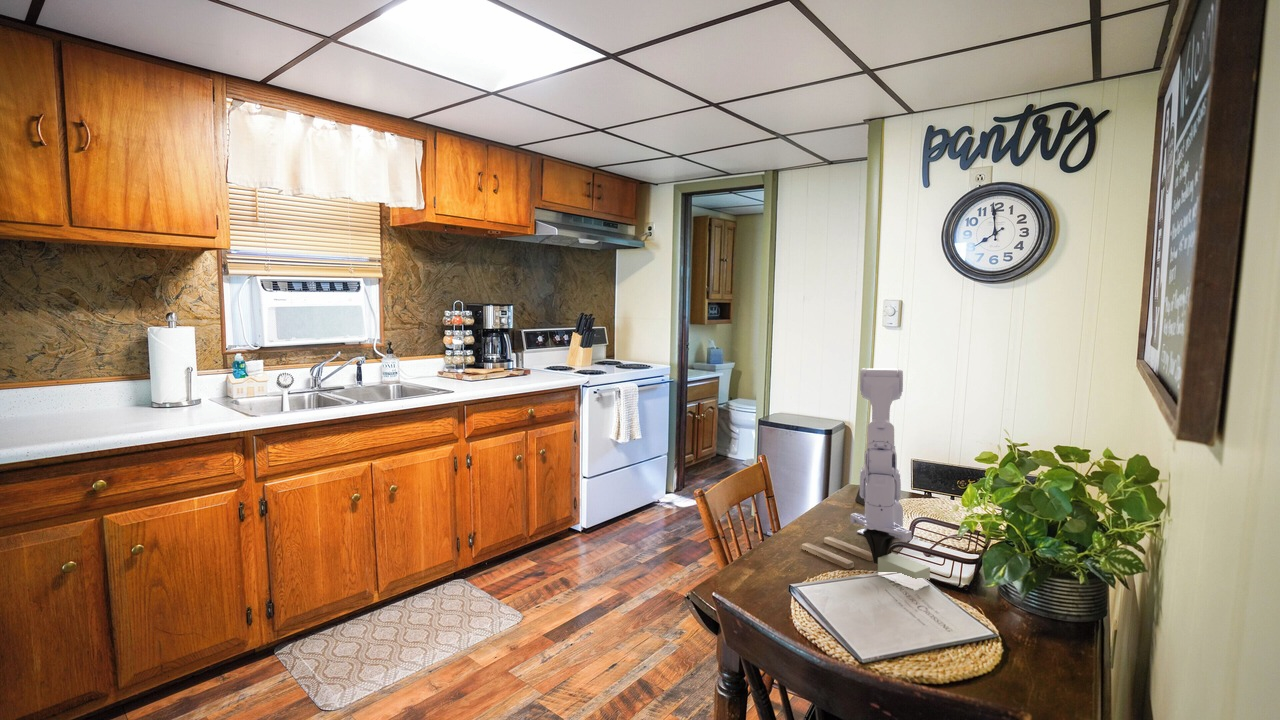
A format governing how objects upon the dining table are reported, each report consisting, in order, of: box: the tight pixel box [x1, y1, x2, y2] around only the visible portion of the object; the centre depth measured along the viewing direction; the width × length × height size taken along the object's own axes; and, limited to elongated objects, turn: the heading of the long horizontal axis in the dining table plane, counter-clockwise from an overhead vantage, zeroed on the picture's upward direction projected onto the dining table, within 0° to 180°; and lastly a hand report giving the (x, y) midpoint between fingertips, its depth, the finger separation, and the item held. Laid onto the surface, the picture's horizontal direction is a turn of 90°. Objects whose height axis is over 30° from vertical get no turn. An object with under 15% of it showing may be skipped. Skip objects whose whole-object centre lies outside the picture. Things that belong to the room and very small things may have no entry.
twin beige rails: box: [801, 536, 874, 570], centre depth 143 cm, size 10×14×1 cm
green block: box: [877, 552, 931, 581], centre depth 128 cm, size 5×9×4 cm, turn 31°
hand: (879, 562), depth 133 cm, fingers closed
